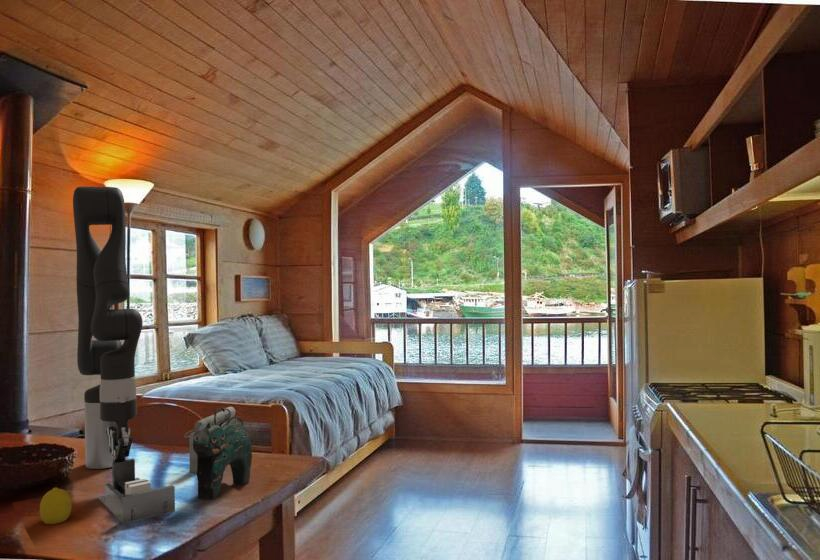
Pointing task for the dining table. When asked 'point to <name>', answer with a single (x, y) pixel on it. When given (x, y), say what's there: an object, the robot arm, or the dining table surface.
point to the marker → (137, 486)
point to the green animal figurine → (221, 455)
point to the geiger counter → (220, 418)
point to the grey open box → (139, 503)
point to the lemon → (55, 506)
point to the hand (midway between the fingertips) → (119, 474)
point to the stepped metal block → (123, 474)
